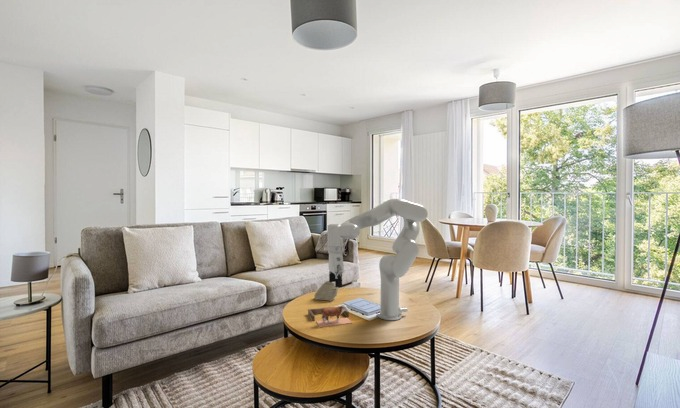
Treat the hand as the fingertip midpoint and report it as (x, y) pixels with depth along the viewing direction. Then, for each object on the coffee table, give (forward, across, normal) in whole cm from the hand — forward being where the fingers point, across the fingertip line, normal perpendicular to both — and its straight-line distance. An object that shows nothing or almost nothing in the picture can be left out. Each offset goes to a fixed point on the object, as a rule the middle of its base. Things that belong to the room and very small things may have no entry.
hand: (335, 284), depth 157 cm
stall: (+19, +9, +1) cm, 21 cm away
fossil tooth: (+19, +36, -6) cm, 41 cm away
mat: (+19, -1, +1) cm, 19 cm away
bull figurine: (+18, 0, +1) cm, 18 cm away
